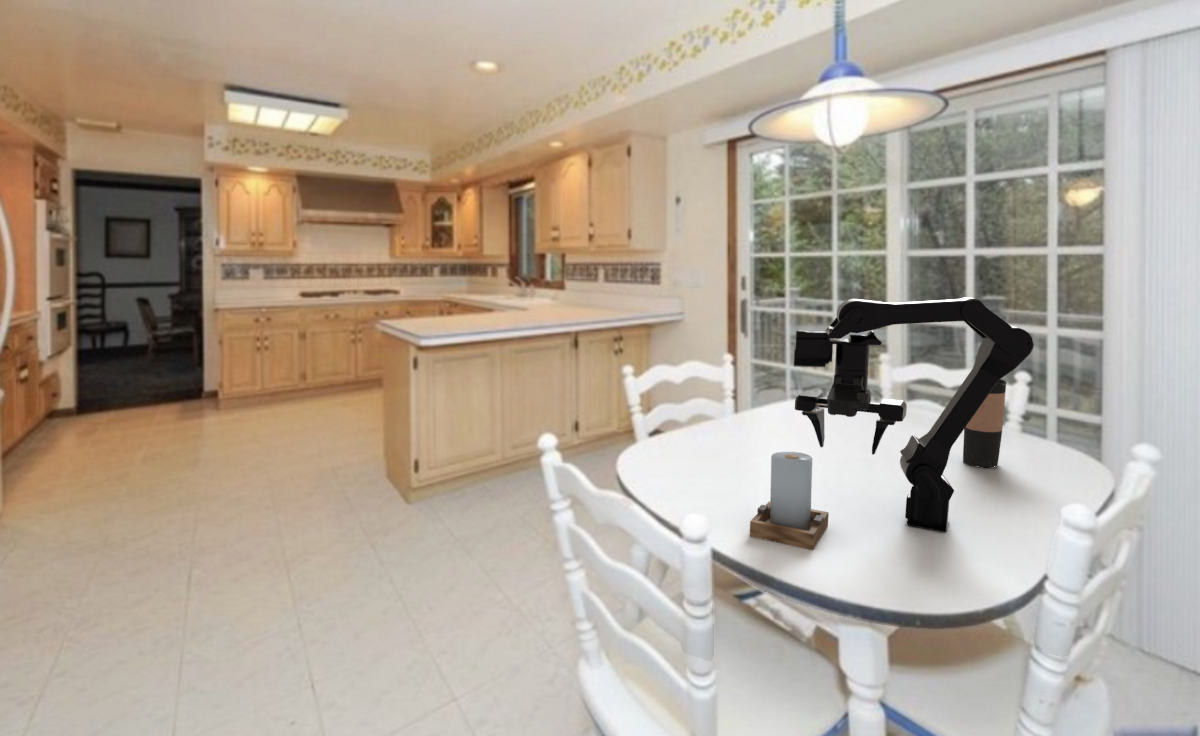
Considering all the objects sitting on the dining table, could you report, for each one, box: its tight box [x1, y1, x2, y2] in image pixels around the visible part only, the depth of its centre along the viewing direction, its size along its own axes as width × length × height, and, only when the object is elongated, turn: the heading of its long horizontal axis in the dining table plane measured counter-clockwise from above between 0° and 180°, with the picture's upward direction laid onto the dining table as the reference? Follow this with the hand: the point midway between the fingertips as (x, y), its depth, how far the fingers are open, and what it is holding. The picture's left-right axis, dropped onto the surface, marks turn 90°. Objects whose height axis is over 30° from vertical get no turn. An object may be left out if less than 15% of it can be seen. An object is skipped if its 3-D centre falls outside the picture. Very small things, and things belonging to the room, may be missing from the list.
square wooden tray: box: [749, 500, 829, 551], centre depth 117 cm, size 11×11×4 cm
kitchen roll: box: [769, 451, 813, 531], centre depth 116 cm, size 7×7×13 cm
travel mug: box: [962, 378, 1007, 468], centre depth 151 cm, size 8×8×20 cm
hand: (847, 450), depth 121 cm, fingers open, 9 cm apart
